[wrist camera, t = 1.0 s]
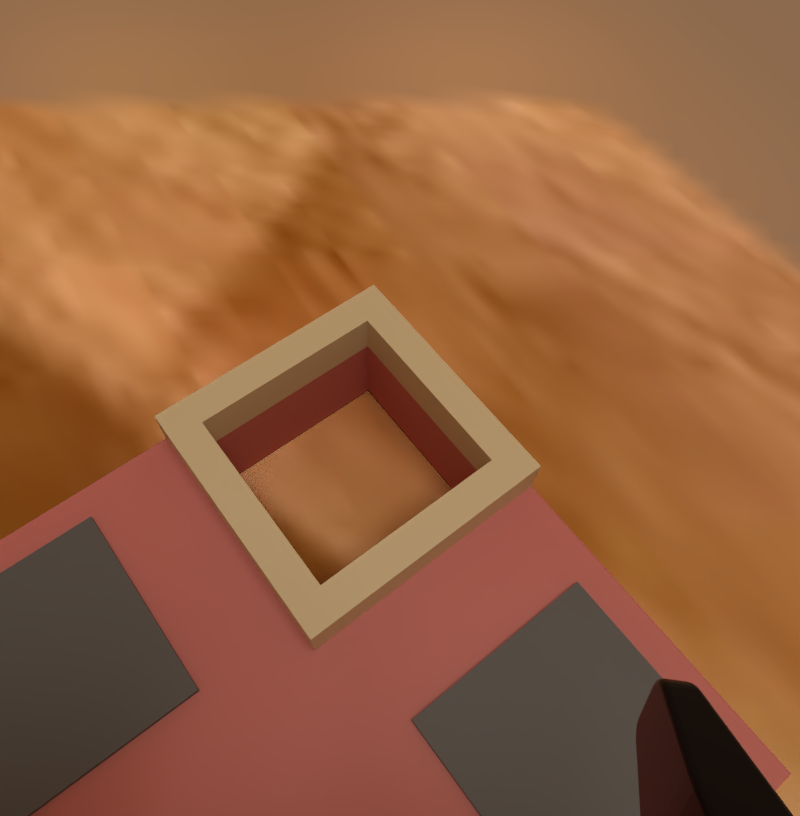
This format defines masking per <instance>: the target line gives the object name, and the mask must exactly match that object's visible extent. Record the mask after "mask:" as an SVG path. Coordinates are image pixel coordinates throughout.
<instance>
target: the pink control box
mask: <svg viewBox="0 0 800 816" xmlns="http://www.w3.org/2000/svg"><path fill="white" fill-rule="evenodd" d="M367 390H368V391H369V392H370V393H371V394H372V395H373V396H374V398H375V399H376V400H377V401H378V402H379V403H380V405H381V406H382V407H383V408H384V409H385V410H386V412H387V413H388V414H389V415H390V416H391V418H392V419H393V420H394V421H395V422H396V423H397V425H398V426H399V427H400V428H401V429H402V430H403V432H404V433H405V434H406V435H407V436H408V437H409V439H410V440H411V441H412V442H413V443H414V445H415V446H416V447H417V448H418V449H419V450H420V452H421V453H422V454H423V455H424V456H425V457H426V459H427V460H428V461H429V462H430V463H431V464H432V466H433V467H434V468H435V469H436V470H437V472H438V473H439V474H440V475H441V476H442V477H443V479H444V480H445V481H446V482H447V483H448V484H449V486H450V487H451V488H452V489H451V490H450V491H449V492H447V493H446V494H445V495H443V496H442V497H441V498H439V499H438V500H436V501H435V502H434V503H432V504H431V505H430V506H428V507H427V508H425V509H424V510H423V511H421V512H420V513H419V514H417V515H416V516H415V517H413V518H412V519H410V520H409V521H408V522H406V523H405V524H404V525H402V526H401V527H399V528H398V529H397V530H395V531H394V532H393V533H391V534H390V535H389V536H387V537H386V538H384V539H383V540H382V541H380V542H379V543H378V544H376V545H375V546H373V547H372V548H371V549H369V550H368V551H367V552H365V553H364V554H363V555H361V556H360V557H358V558H357V559H356V560H354V561H353V562H352V563H350V564H349V565H347V566H346V567H345V568H343V569H342V570H341V571H339V572H338V573H337V574H335V575H334V576H332V577H331V578H330V579H328V580H327V581H326V582H324V583H323V584H322V585H320V584H319V583H318V581H317V580H316V578H315V577H314V576H313V574H312V573H311V572H310V570H309V569H308V567H307V566H306V565H305V563H304V562H303V561H302V559H301V558H300V557H299V555H298V554H297V552H296V551H295V550H294V548H293V547H292V546H291V544H290V543H289V541H288V540H287V539H286V537H285V536H284V535H283V533H282V532H281V530H280V529H279V528H278V526H277V525H276V524H275V522H274V521H273V519H272V518H271V517H270V515H269V514H268V513H267V511H266V510H265V508H264V507H263V506H262V504H261V503H260V502H259V500H258V499H257V497H256V496H255V495H254V493H253V492H252V491H251V489H250V488H249V486H248V485H247V484H246V482H245V481H244V480H243V478H242V477H241V475H240V473H241V472H243V471H244V470H246V469H247V468H249V467H250V466H252V465H253V464H255V463H257V462H258V461H260V460H261V459H263V458H264V457H266V456H267V455H269V454H270V453H272V452H273V451H275V450H277V449H278V448H280V447H281V446H283V445H284V444H286V443H287V442H289V441H290V440H292V439H293V438H295V437H297V436H298V435H300V434H301V433H303V432H304V431H306V430H307V429H309V428H310V427H312V426H313V425H315V424H317V423H318V422H320V421H321V420H323V419H324V418H326V417H327V416H329V415H330V414H332V413H333V412H335V411H337V410H338V409H340V408H341V407H343V406H344V405H346V404H347V403H349V402H350V401H352V400H353V399H355V398H357V397H358V396H360V395H361V394H363V393H364V392H366V391H367ZM154 417H155V418H156V420H157V422H158V424H159V426H160V428H161V429H162V431H163V433H164V435H165V437H166V439H165V440H163V441H161V442H160V443H158V444H156V445H155V446H153V447H152V448H150V449H148V450H147V451H145V452H143V453H142V454H140V455H138V456H137V457H135V458H134V459H132V460H130V461H129V462H127V463H125V464H124V465H122V466H121V467H119V468H117V469H116V470H114V471H112V472H111V473H109V474H107V475H106V476H104V477H103V478H101V479H99V480H98V481H96V482H94V483H93V484H91V485H89V486H88V487H86V488H85V489H83V490H81V491H80V492H78V493H76V494H75V495H73V496H72V497H70V498H68V499H67V500H65V501H63V502H62V503H60V504H58V505H57V506H55V507H54V508H52V509H50V510H49V511H47V512H45V513H44V514H42V515H40V516H39V517H37V518H36V519H34V520H32V521H31V522H29V523H27V524H26V525H24V526H23V527H21V528H19V529H18V530H16V531H14V532H13V533H11V534H9V535H8V536H6V537H5V538H3V539H1V540H0V816H640V802H639V785H638V769H637V752H636V727H637V722H638V718H639V716H640V714H641V711H642V709H643V707H644V705H645V702H646V700H647V698H648V696H649V694H650V691H651V689H652V687H653V685H654V683H655V682H656V681H657V680H659V679H663V678H664V679H672V680H679V681H687V682H690V683H693V684H694V685H696V686H697V687H698V688H699V689H700V690H701V692H702V693H703V694H704V696H705V697H706V698H707V700H708V701H709V702H710V704H711V705H712V707H713V708H714V709H715V711H716V712H717V713H718V715H719V716H720V717H721V719H722V720H723V721H724V723H725V724H726V725H727V727H728V728H729V730H730V731H731V732H732V734H733V735H734V736H735V738H736V739H737V740H738V742H739V743H740V744H741V746H742V747H743V748H744V750H745V751H746V752H747V754H748V755H749V757H750V758H751V759H752V761H753V762H754V763H755V765H756V766H757V767H758V769H759V770H760V771H761V773H762V774H763V775H764V777H765V778H766V779H767V781H768V782H769V784H770V785H771V786H772V788H773V789H774V790H776V789H777V788H778V787H779V786H780V785H781V784H782V783H783V782H784V781H785V780H786V779H787V778H788V777H789V775H790V774H791V773H790V772H789V771H788V770H787V769H786V768H785V767H784V765H783V764H782V763H781V762H780V761H779V760H778V759H777V758H776V757H775V756H774V754H773V753H772V752H771V751H770V750H769V749H768V748H767V747H766V746H765V744H764V743H763V742H762V741H761V740H760V739H759V738H758V737H757V736H756V734H755V733H754V732H753V731H752V730H751V729H750V728H749V727H748V726H747V724H746V723H745V722H744V721H743V720H742V719H741V718H740V717H739V716H738V715H737V713H736V712H735V711H734V710H733V709H732V708H731V707H730V706H729V705H728V703H727V702H726V701H725V700H724V699H723V698H722V697H721V696H720V695H719V693H718V692H717V691H716V690H715V689H714V688H713V687H712V686H711V685H710V683H709V682H708V681H707V680H706V679H705V678H704V677H703V676H702V675H701V674H700V672H699V671H698V670H697V669H696V668H695V667H694V666H693V665H692V664H691V662H690V661H689V660H688V659H687V658H686V657H685V656H684V655H683V654H682V652H681V651H680V650H679V649H678V648H677V647H676V646H675V645H674V644H673V643H672V641H671V640H670V639H669V638H668V637H667V636H666V635H665V634H664V633H663V631H662V630H661V629H660V628H659V627H658V626H657V625H656V624H655V623H654V621H653V620H652V619H651V618H650V617H649V616H648V615H647V614H646V613H645V611H644V610H643V609H642V608H641V607H640V606H639V605H638V604H637V603H636V602H635V600H634V599H633V598H632V597H631V596H630V595H629V594H628V593H627V592H626V590H625V589H624V588H623V587H622V586H621V585H620V584H619V583H618V582H617V580H616V579H615V578H614V577H613V576H612V575H611V574H610V573H609V572H608V570H607V569H606V568H605V567H604V566H603V565H602V564H601V563H600V562H599V561H598V559H597V558H596V557H595V556H594V555H593V554H592V553H591V552H590V551H589V549H588V548H587V547H586V546H585V545H584V544H583V543H582V542H581V541H580V539H579V538H578V537H577V536H576V535H575V534H574V533H573V532H572V531H571V529H570V528H569V527H568V526H567V525H566V524H565V523H564V522H563V521H562V520H561V518H560V517H559V516H558V515H557V514H556V513H555V512H554V511H553V510H552V508H551V507H550V506H549V505H548V504H547V503H546V502H545V501H544V500H543V498H542V497H541V496H540V495H539V494H538V493H537V492H536V491H535V490H534V489H533V487H532V486H531V485H532V483H533V481H534V479H535V477H536V475H537V473H538V471H539V469H540V467H541V466H540V465H539V464H538V463H537V462H536V461H535V459H534V458H533V457H532V456H531V455H530V454H529V453H528V452H527V451H526V450H525V449H524V447H523V446H522V445H521V444H520V443H519V442H518V441H517V440H516V439H515V438H514V437H513V436H512V434H511V433H510V432H509V431H508V430H507V429H506V428H505V427H504V426H503V425H502V424H501V422H500V421H499V420H498V419H497V418H496V417H495V416H494V415H493V414H492V413H491V412H490V411H489V409H488V408H487V407H486V406H485V405H484V404H483V403H482V402H481V401H480V400H479V399H478V397H477V396H476V395H475V394H474V393H473V392H472V391H471V390H470V389H469V388H468V387H467V385H466V384H465V383H464V382H463V381H462V380H461V379H460V378H459V377H458V376H457V375H456V374H455V372H454V371H453V370H452V369H451V368H450V367H449V366H448V365H447V364H446V363H445V362H444V360H443V359H442V358H441V357H440V356H439V355H438V354H437V353H436V352H435V351H434V350H433V349H432V347H431V346H430V345H429V344H428V343H427V342H426V341H425V340H424V339H423V338H422V337H421V335H420V334H419V333H418V332H417V331H416V330H415V329H414V328H413V327H412V326H411V325H410V324H409V322H408V321H407V320H406V319H405V318H404V317H403V316H402V315H401V314H400V313H399V312H398V310H397V309H396V308H395V307H394V306H393V305H392V304H391V303H390V302H389V301H388V300H387V299H386V297H385V296H384V295H383V294H382V293H381V292H380V291H379V290H378V289H377V288H376V287H375V285H373V286H371V287H369V288H368V289H366V290H364V291H363V292H361V293H359V294H358V295H356V296H354V297H352V298H351V299H349V300H347V301H346V302H344V303H342V304H341V305H339V306H337V307H336V308H334V309H332V310H331V311H329V312H327V313H326V314H324V315H322V316H321V317H319V318H317V319H316V320H314V321H312V322H311V323H309V324H307V325H306V326H304V327H302V328H301V329H299V330H297V331H296V332H294V333H292V334H291V335H289V336H287V337H286V338H284V339H282V340H281V341H279V342H277V343H276V344H274V345H272V346H271V347H269V348H267V349H266V350H264V351H262V352H261V353H259V354H257V355H256V356H254V357H252V358H251V359H249V360H247V361H246V362H244V363H242V364H241V365H239V366H237V367H236V368H234V369H232V370H231V371H229V372H227V373H226V374H224V375H222V376H221V377H219V378H217V379H216V380H214V381H212V382H211V383H209V384H207V385H206V386H204V387H202V388H201V389H199V390H197V391H196V392H194V393H192V394H191V395H189V396H187V397H186V398H184V399H182V400H180V401H179V402H177V403H175V404H174V405H172V406H170V407H169V408H167V409H165V410H164V411H162V412H160V413H159V414H157V415H155V416H154Z"/></svg>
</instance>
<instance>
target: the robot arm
mask: <svg viewBox="0 0 800 816" xmlns="http://www.w3.org/2000/svg"><path fill="white" fill-rule="evenodd" d="M636 752H637V769H638V785H639V802H640V816H793V815H792V813H791V812H790V811H789V809H788V808H787V807H786V805H785V804H784V802H783V801H782V800H781V798H780V797H779V796H778V794H777V793H776V792H775V790H774V789H773V788H772V786H771V785H770V784H769V782H768V781H767V779H766V778H765V777H764V775H763V774H762V773H761V771H760V770H759V769H758V767H757V766H756V765H755V763H754V762H753V761H752V759H751V758H750V757H749V755H748V754H747V752H746V751H745V750H744V748H743V747H742V746H741V744H740V743H739V742H738V740H737V739H736V738H735V736H734V735H733V734H732V732H731V731H730V730H729V728H728V727H727V725H726V724H725V723H724V721H723V720H722V719H721V717H720V716H719V715H718V713H717V712H716V711H715V709H714V708H713V707H712V705H711V704H710V702H709V701H708V700H707V698H706V697H705V696H704V694H703V693H702V692H701V690H700V689H699V688H698V687H697V686H696V685H694V684H693V683H690V682H687V681H679V680H672V679H664V678H663V679H659V680H657V681H656V682H655V683H654V685H653V687H652V689H651V691H650V694H649V696H648V698H647V700H646V702H645V705H644V707H643V709H642V711H641V714H640V716H639V718H638V722H637V727H636Z"/></svg>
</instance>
